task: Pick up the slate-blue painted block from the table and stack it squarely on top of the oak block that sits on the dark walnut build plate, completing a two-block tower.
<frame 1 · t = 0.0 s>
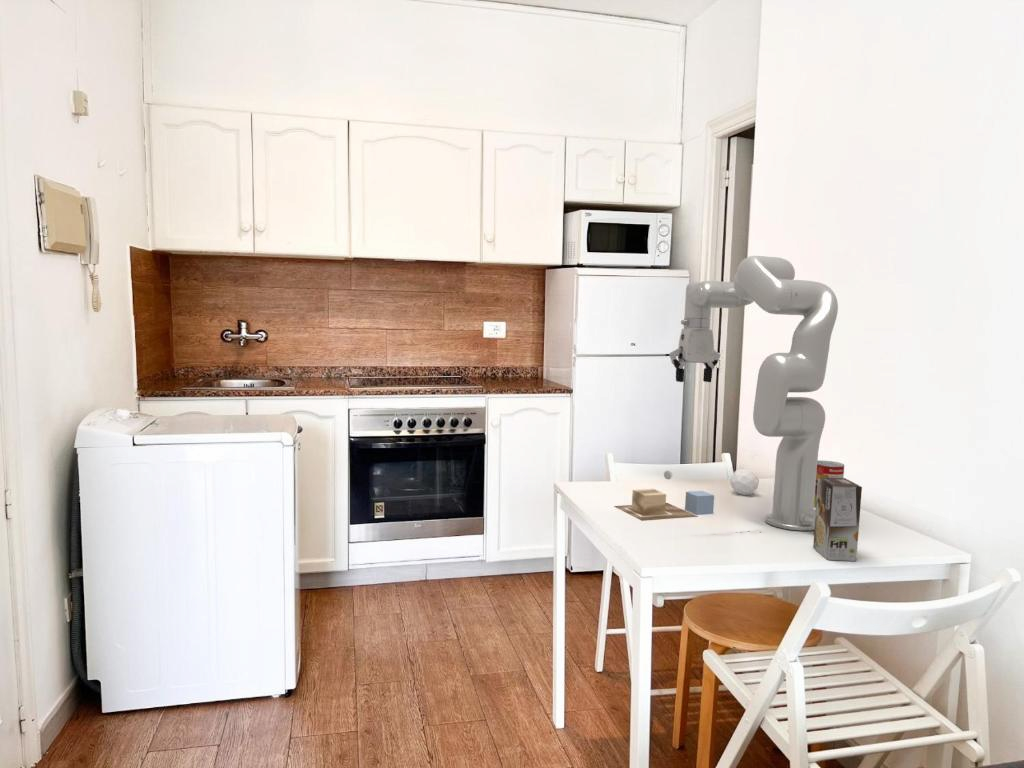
hand: (693, 381, 225), 31 cm above the table, tool pointing down, fingers open, 9 cm apart
slate block: (698, 516, 190), on the table
geometric ball: (743, 495, 217), on the table
coffee box: (833, 555, 163), on the table
canned food: (825, 506, 206), on the table
build plate: (654, 515, 189), on the table
oak block: (648, 511, 188), point 1 cm above the table, touching build plate
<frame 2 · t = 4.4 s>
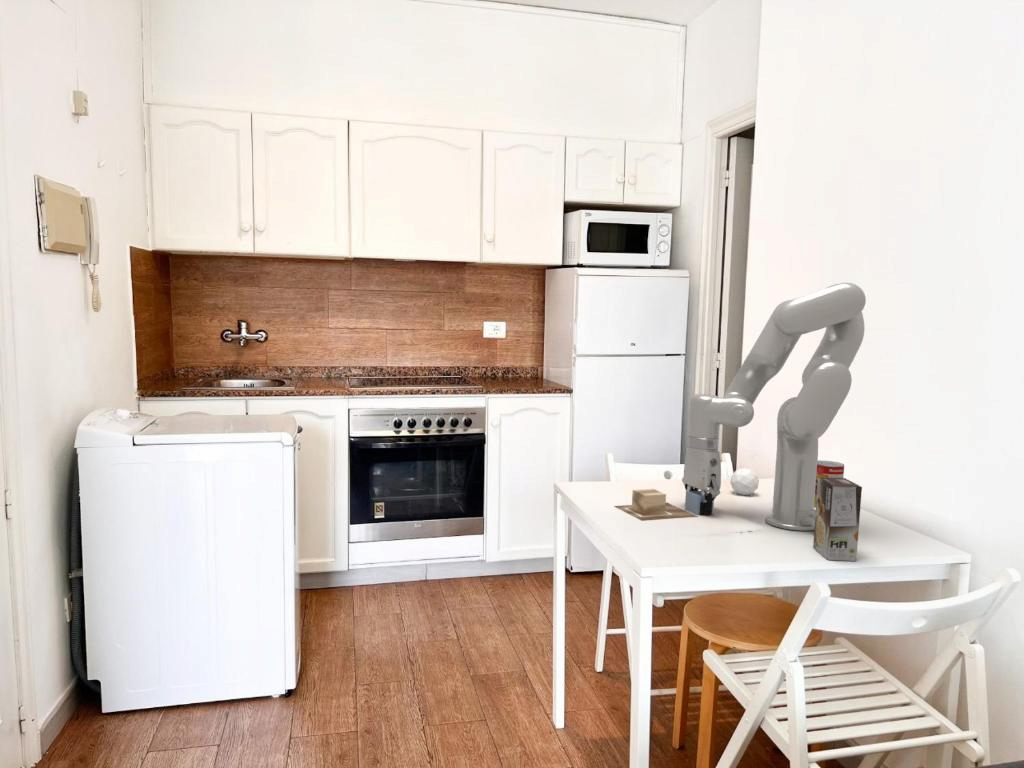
hand: (698, 513, 190), 1 cm above the table, tool pointing down, fingers closed on slate block, 5 cm apart
slate block: (698, 516, 190), on the table, touching gripper
everything else where it was.
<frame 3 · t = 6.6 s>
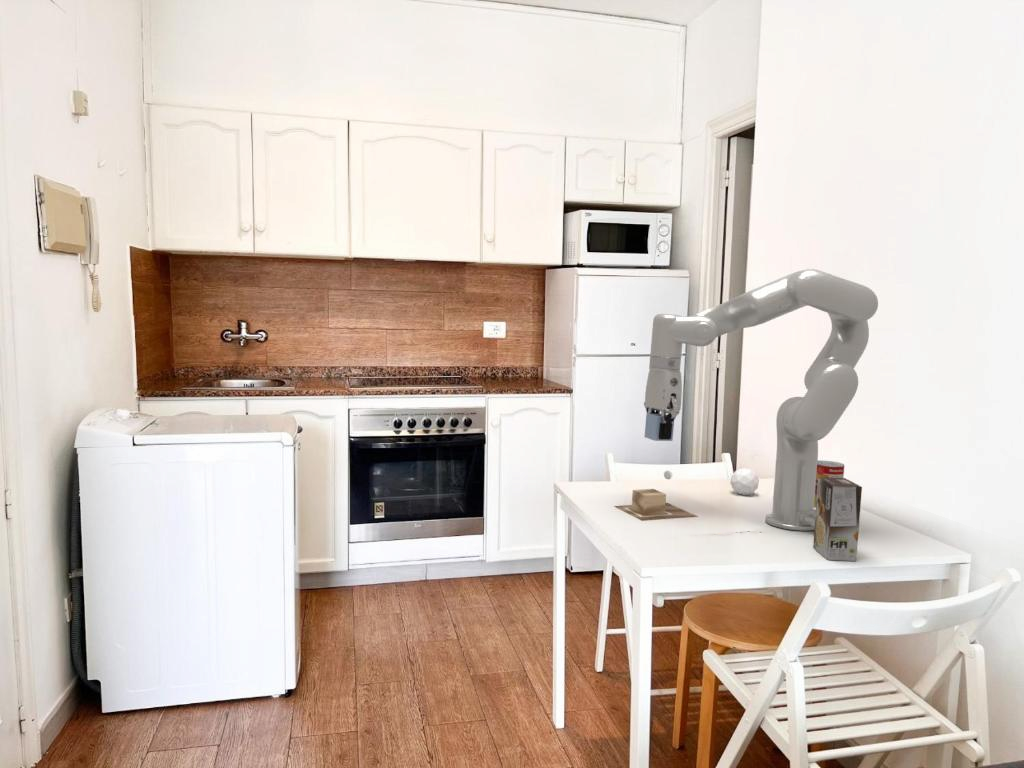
hand: (658, 436, 187), 20 cm above the table, tool pointing down, fingers closed on slate block, 5 cm apart
slate block: (658, 438, 187), point 20 cm above the table, touching gripper
everything else where it was.
when the fingers open (8 cm above the table, at t = 9.2 s): slate block drops 1 cm, resting on oak block.
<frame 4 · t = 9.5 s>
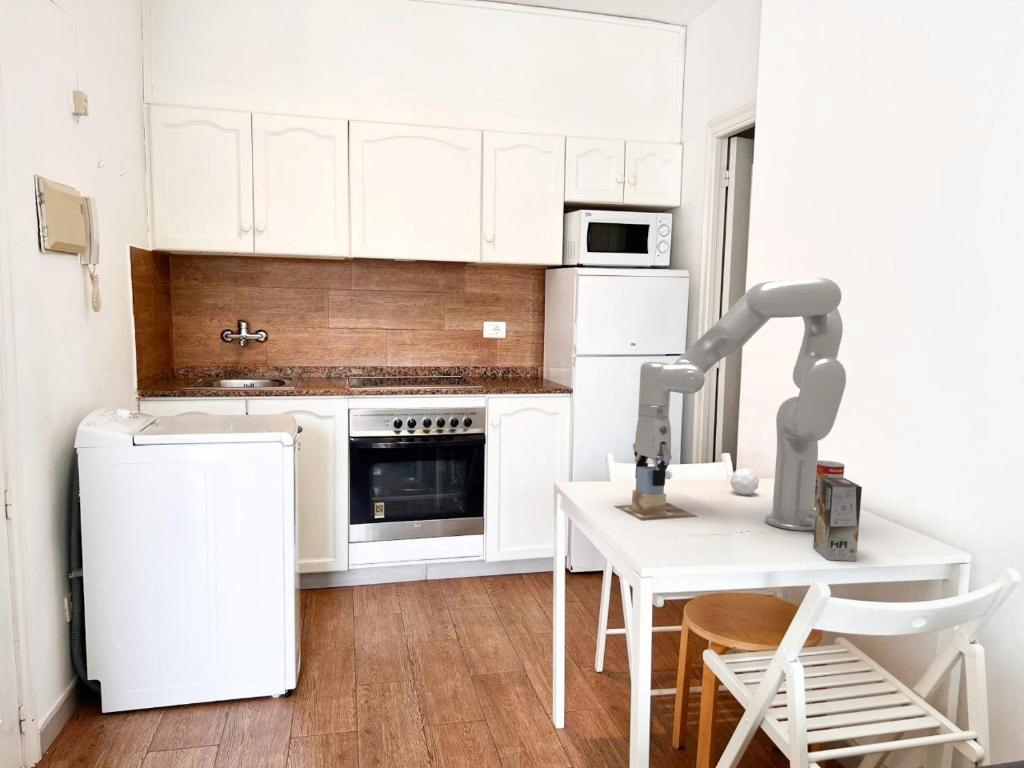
hand: (649, 481, 188), 9 cm above the table, tool pointing down, fingers open, 7 cm apart
slate block: (649, 492, 188), point 6 cm above the table, touching oak block
oak block: (648, 511, 188), point 1 cm above the table, touching build plate, slate block
everything else where it was.
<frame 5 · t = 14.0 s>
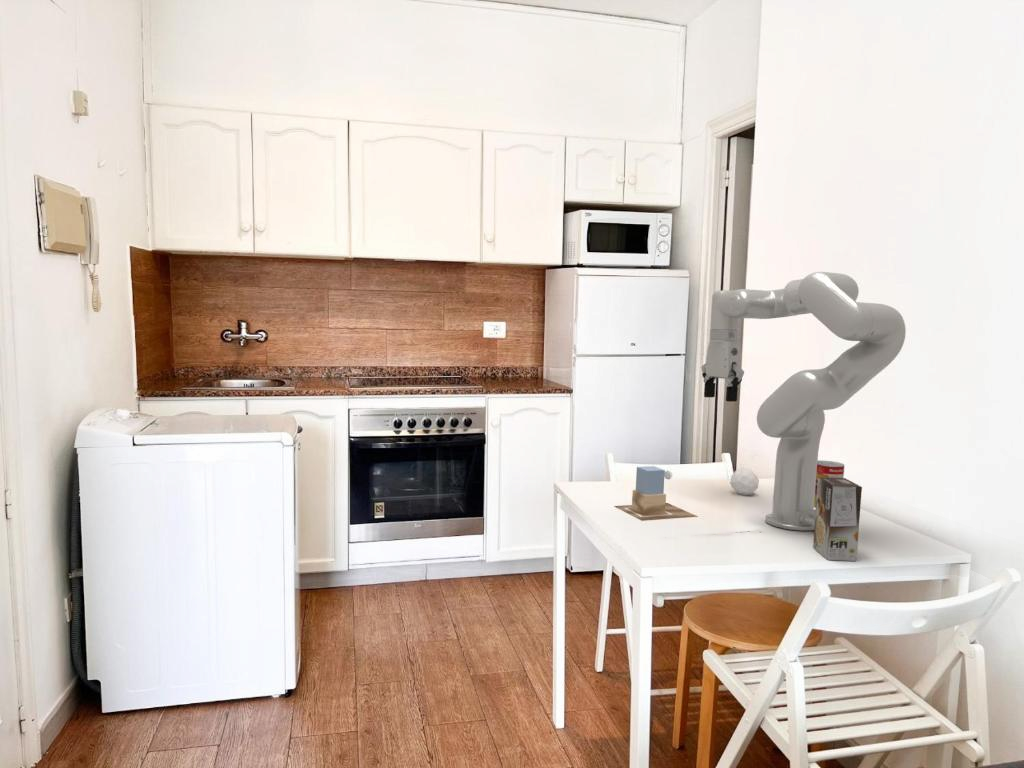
hand: (720, 399, 205), 28 cm above the table, tool pointing down, fingers open, 9 cm apart
nothing on the table moved.
at the end: slate block 0.1 cm off-centre on the oak block, point 5.0 cm above the oak block's base; slate block tilted 0°; oak block moved 0.0 cm from its start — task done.
